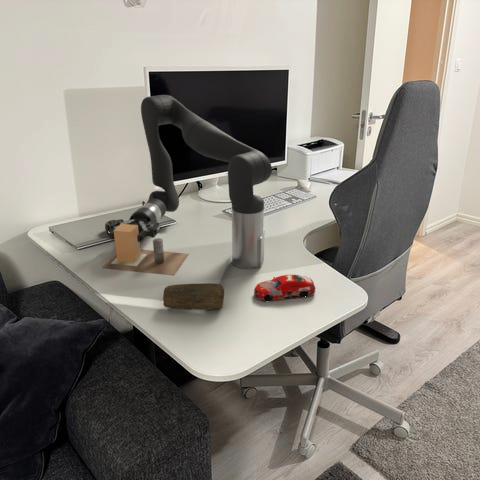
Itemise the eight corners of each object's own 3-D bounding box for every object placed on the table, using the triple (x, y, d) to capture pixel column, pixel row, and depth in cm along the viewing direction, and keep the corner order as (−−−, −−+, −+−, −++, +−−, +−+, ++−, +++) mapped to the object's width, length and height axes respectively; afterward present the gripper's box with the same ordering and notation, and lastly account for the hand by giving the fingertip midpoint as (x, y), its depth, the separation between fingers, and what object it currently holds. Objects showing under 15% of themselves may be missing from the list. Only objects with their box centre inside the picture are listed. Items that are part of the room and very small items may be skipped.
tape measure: (126, 234, 158) (125, 224, 156) (106, 237, 156) (105, 227, 154) (125, 227, 164) (124, 217, 162) (105, 229, 162) (104, 219, 160)
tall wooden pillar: (140, 255, 139) (137, 225, 135) (133, 263, 134) (130, 232, 130) (124, 254, 140) (121, 223, 136) (117, 261, 135) (113, 230, 131)
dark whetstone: (224, 299, 120) (223, 276, 117) (224, 314, 113) (224, 290, 111) (166, 300, 119) (164, 278, 116) (163, 315, 113) (161, 292, 110)
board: (189, 258, 141) (188, 232, 138) (174, 280, 129) (172, 252, 125) (122, 251, 145) (119, 227, 142) (102, 272, 133) (98, 245, 129)
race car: (256, 304, 118) (256, 287, 116) (251, 291, 124) (251, 275, 122) (317, 298, 120) (318, 282, 118) (309, 285, 126) (310, 269, 124)
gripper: (124, 205, 147) (100, 224, 132) (166, 208, 144) (146, 228, 130) (126, 227, 150) (103, 247, 136) (167, 230, 148) (149, 251, 133)
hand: (124, 238), depth 133 cm, fingers open, 8 cm apart
